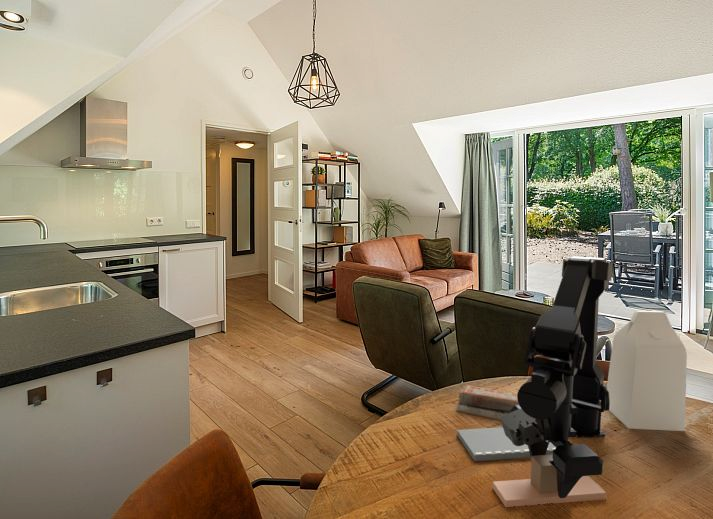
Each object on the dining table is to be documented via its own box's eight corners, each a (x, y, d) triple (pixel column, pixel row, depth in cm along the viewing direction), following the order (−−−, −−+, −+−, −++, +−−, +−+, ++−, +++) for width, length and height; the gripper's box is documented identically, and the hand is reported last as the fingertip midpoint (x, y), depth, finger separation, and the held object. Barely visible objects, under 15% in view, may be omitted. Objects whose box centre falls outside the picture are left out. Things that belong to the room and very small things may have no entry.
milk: (654, 407, 106) (662, 306, 104) (684, 431, 95) (694, 318, 92) (604, 405, 108) (610, 305, 105) (628, 428, 96) (636, 316, 94)
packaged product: (455, 393, 104) (464, 379, 113) (455, 412, 105) (463, 397, 114) (534, 408, 97) (537, 392, 105) (533, 428, 97) (536, 410, 106)
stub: (586, 481, 77) (588, 448, 77) (606, 499, 72) (608, 465, 72) (492, 488, 75) (493, 455, 75) (505, 507, 70) (506, 472, 70)
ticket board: (534, 430, 95) (534, 424, 95) (560, 455, 85) (560, 449, 85) (457, 435, 93) (457, 429, 93) (474, 461, 83) (474, 454, 83)
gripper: (485, 377, 80) (482, 455, 82) (538, 426, 62) (533, 525, 63) (540, 375, 81) (536, 451, 83) (608, 422, 63) (602, 519, 65)
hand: (548, 482), depth 73 cm, fingers open, 7 cm apart
